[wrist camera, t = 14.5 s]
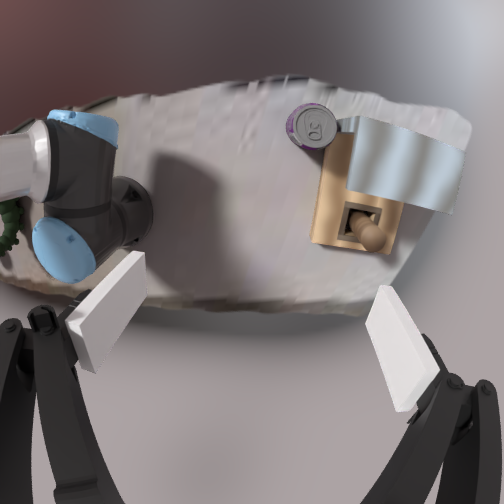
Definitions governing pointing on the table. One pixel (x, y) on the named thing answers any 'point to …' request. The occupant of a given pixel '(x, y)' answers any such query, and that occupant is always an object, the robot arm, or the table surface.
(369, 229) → the peg
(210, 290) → the table surface
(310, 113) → the beverage can
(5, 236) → the toy figurine
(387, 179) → the socket station
